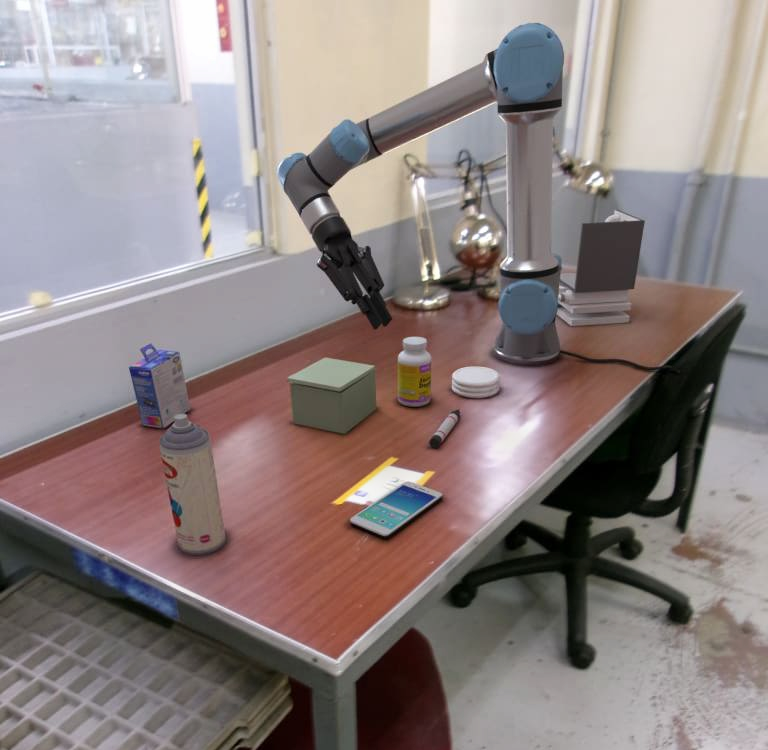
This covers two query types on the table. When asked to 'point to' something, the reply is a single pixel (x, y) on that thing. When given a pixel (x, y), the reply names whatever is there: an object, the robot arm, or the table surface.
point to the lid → (331, 374)
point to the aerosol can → (192, 487)
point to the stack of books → (602, 272)
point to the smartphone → (396, 509)
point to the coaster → (475, 382)
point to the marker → (444, 429)
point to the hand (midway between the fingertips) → (383, 324)
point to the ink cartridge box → (159, 387)
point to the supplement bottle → (414, 373)
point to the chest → (334, 405)
